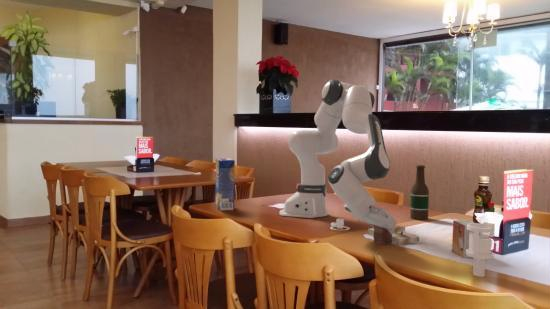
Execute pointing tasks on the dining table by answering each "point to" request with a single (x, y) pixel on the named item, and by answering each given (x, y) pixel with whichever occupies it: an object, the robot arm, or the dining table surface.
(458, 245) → the small box
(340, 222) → the white curved piece
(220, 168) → the juice carton
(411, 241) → the ash board
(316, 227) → the dining table surface
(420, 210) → the beer bottle
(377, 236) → the block
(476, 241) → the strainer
